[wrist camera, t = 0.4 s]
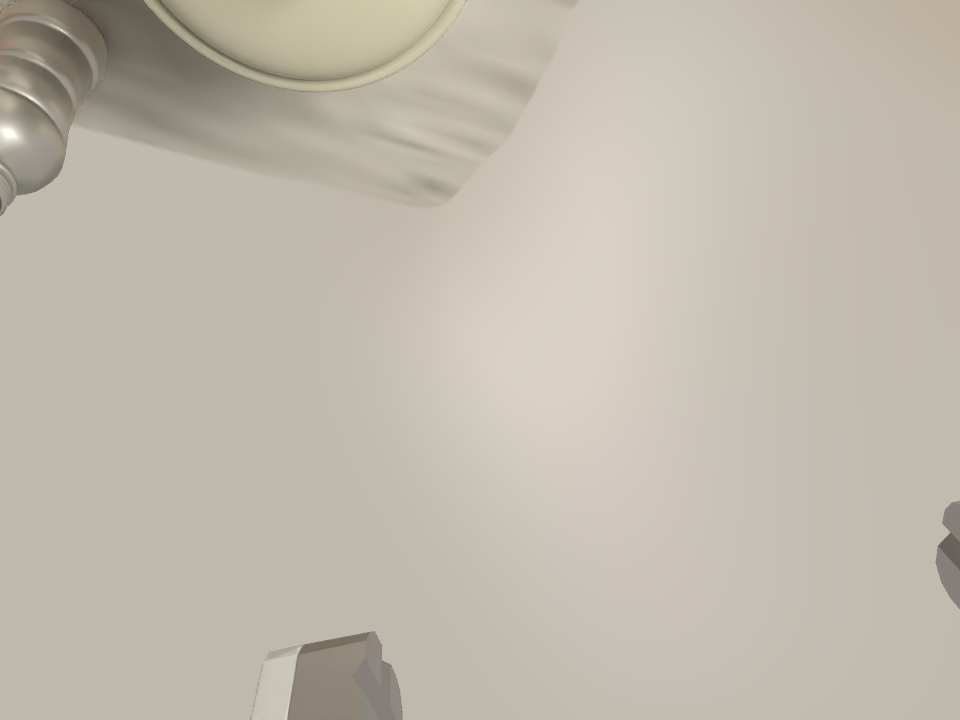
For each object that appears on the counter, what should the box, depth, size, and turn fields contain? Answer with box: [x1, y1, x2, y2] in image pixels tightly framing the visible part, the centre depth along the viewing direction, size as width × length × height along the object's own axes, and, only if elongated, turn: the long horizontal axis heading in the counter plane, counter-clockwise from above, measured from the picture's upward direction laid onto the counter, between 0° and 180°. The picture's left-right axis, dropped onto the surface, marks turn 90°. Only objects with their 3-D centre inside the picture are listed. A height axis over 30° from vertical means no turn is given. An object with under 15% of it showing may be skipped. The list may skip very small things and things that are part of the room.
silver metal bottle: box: [0, 0, 107, 216], centre depth 42 cm, size 6×7×20 cm
